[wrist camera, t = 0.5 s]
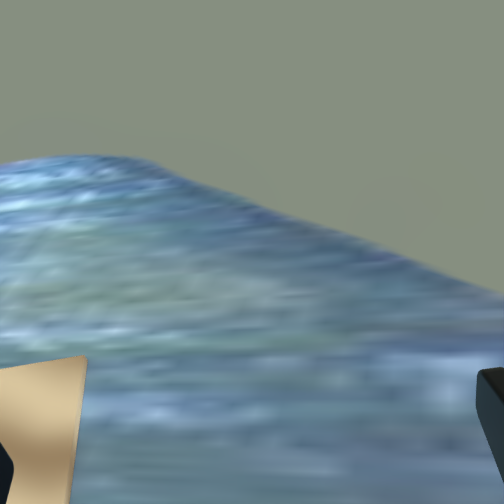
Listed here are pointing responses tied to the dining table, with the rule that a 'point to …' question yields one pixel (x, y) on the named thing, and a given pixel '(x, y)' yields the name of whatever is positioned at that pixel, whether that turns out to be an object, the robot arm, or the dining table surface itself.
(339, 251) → the dining table surface
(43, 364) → the coaster
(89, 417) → the dining table surface
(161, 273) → the dining table surface
